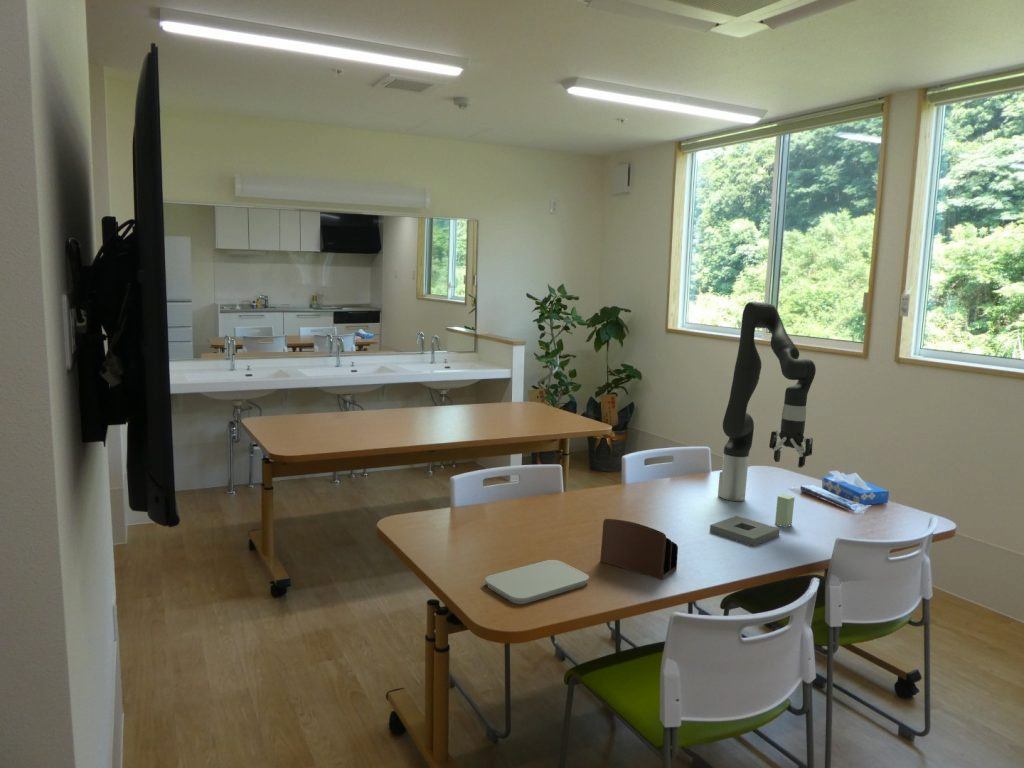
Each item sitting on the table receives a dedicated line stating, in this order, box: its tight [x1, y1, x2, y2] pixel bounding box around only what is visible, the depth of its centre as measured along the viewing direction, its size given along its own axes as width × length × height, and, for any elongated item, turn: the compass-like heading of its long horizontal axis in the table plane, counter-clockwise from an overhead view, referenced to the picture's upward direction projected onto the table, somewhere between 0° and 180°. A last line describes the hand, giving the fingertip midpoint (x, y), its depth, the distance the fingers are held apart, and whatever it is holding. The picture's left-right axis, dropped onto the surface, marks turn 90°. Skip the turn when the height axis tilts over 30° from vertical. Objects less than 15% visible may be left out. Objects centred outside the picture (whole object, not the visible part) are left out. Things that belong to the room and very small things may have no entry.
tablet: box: [484, 559, 590, 605], centre depth 200 cm, size 16×26×2 cm, turn 127°
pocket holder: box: [709, 515, 781, 547], centre depth 246 cm, size 16×16×2 cm
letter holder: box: [599, 518, 679, 581], centre depth 214 cm, size 10×20×14 cm, turn 54°
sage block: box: [774, 494, 795, 528], centre depth 256 cm, size 4×4×10 cm
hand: (788, 464), depth 254 cm, fingers open, 8 cm apart
